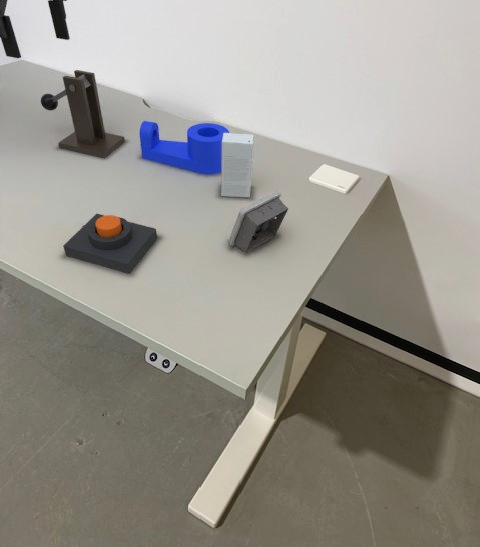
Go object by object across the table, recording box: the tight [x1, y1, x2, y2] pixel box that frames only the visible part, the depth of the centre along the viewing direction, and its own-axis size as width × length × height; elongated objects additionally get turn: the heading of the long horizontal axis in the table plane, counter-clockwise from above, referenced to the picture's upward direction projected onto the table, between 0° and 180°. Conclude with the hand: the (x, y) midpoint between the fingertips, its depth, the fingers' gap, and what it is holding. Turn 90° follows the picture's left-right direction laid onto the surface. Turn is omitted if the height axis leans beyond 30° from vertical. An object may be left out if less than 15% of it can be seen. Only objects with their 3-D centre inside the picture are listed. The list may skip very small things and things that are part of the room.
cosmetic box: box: [220, 132, 254, 199], centre depth 84 cm, size 6×4×12 cm
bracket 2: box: [139, 120, 230, 175], centre depth 94 cm, size 20×9×8 cm, turn 76°
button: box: [96, 214, 122, 237], centre depth 70 cm, size 4×4×2 cm
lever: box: [40, 74, 91, 111], centre depth 93 cm, size 14×4×4 cm, turn 72°
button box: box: [62, 213, 158, 274], centre depth 72 cm, size 12×10×4 cm
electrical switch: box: [228, 190, 289, 254], centre depth 73 cm, size 9×5×9 cm, turn 133°
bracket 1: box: [57, 69, 126, 159], centre depth 94 cm, size 12×9×16 cm
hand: (40, 47), depth 80 cm, fingers open, 13 cm apart
